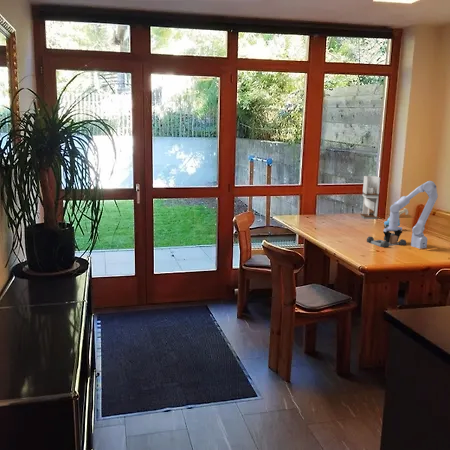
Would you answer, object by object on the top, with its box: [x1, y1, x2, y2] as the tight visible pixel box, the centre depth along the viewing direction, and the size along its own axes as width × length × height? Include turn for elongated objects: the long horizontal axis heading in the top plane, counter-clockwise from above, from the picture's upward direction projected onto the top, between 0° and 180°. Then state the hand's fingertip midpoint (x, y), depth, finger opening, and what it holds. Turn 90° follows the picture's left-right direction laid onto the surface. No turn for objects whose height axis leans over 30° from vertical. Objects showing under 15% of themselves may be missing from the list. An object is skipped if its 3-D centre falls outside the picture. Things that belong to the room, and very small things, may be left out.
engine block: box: [389, 232, 399, 244], centre depth 326 cm, size 5×4×6 cm
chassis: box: [366, 235, 407, 249], centre depth 324 cm, size 16×20×5 cm
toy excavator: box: [383, 207, 409, 229], centre depth 368 cm, size 9×17×17 cm, turn 79°
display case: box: [360, 175, 381, 220], centre depth 413 cm, size 11×11×35 cm
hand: (391, 241), depth 326 cm, fingers open, 7 cm apart
